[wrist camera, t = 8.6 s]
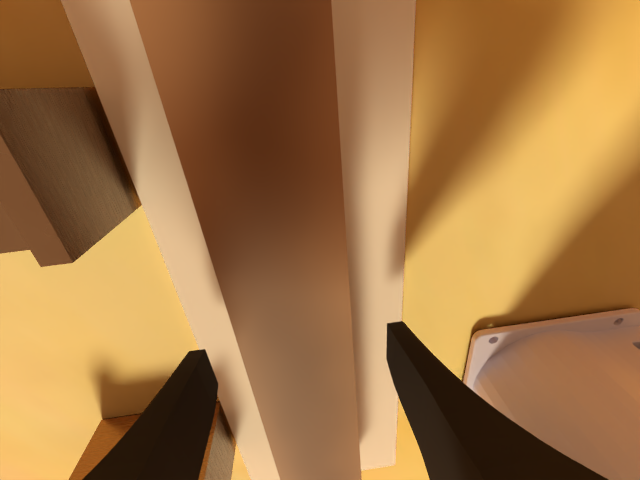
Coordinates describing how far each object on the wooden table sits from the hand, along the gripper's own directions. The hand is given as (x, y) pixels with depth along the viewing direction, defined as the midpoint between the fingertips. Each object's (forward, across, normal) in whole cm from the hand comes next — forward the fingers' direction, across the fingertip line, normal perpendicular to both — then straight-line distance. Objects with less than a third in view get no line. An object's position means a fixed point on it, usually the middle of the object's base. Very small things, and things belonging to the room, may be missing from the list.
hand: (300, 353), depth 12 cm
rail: (+2, 0, 0) cm, 2 cm away
